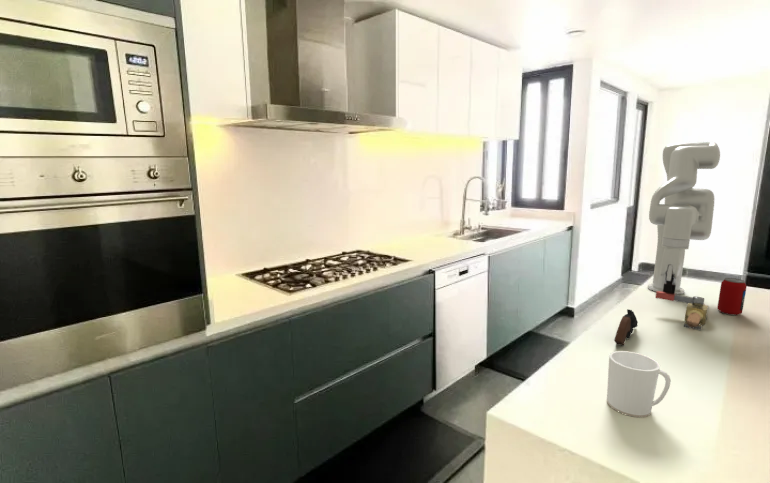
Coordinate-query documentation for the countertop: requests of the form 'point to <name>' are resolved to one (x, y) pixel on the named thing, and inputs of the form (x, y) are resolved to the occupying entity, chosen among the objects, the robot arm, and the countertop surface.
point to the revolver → (626, 327)
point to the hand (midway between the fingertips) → (668, 295)
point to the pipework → (695, 316)
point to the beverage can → (732, 296)
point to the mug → (634, 383)
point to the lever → (681, 298)
